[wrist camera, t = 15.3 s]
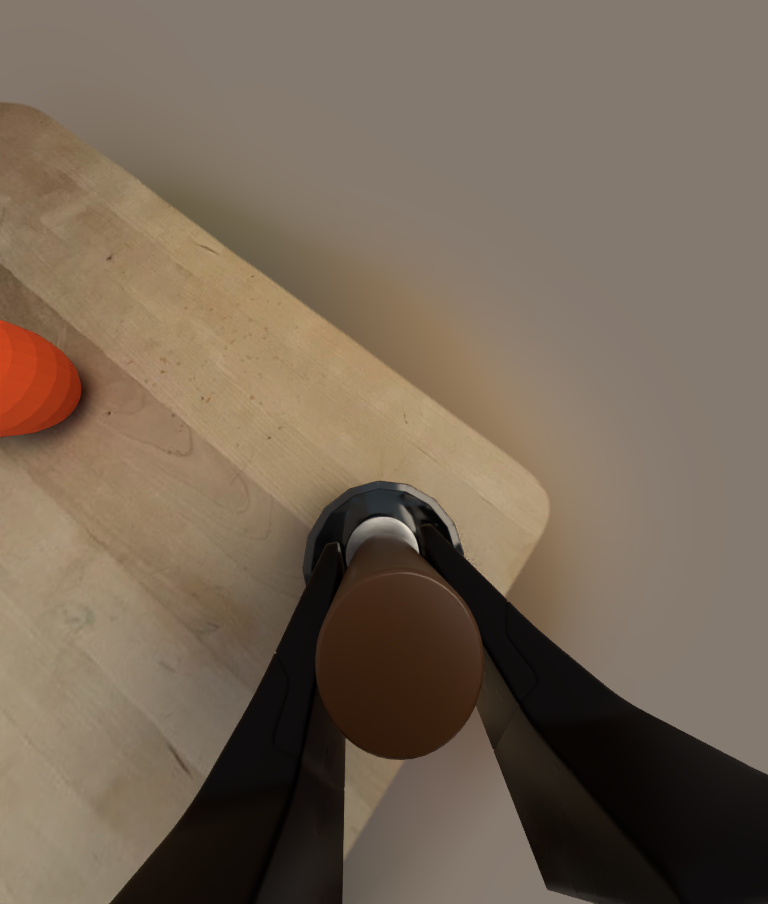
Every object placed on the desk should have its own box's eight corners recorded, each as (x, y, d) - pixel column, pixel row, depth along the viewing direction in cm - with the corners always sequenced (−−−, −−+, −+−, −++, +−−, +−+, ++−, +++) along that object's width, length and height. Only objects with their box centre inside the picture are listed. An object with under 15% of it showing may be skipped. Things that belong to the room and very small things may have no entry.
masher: (388, 604, 15) (428, 880, 4) (332, 557, 16) (222, 688, 4) (430, 544, 16) (566, 632, 5) (375, 501, 16) (379, 485, 5)
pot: (454, 551, 19) (496, 575, 12) (371, 625, 18) (369, 691, 11) (389, 469, 20) (396, 451, 13) (306, 534, 19) (271, 548, 12)
